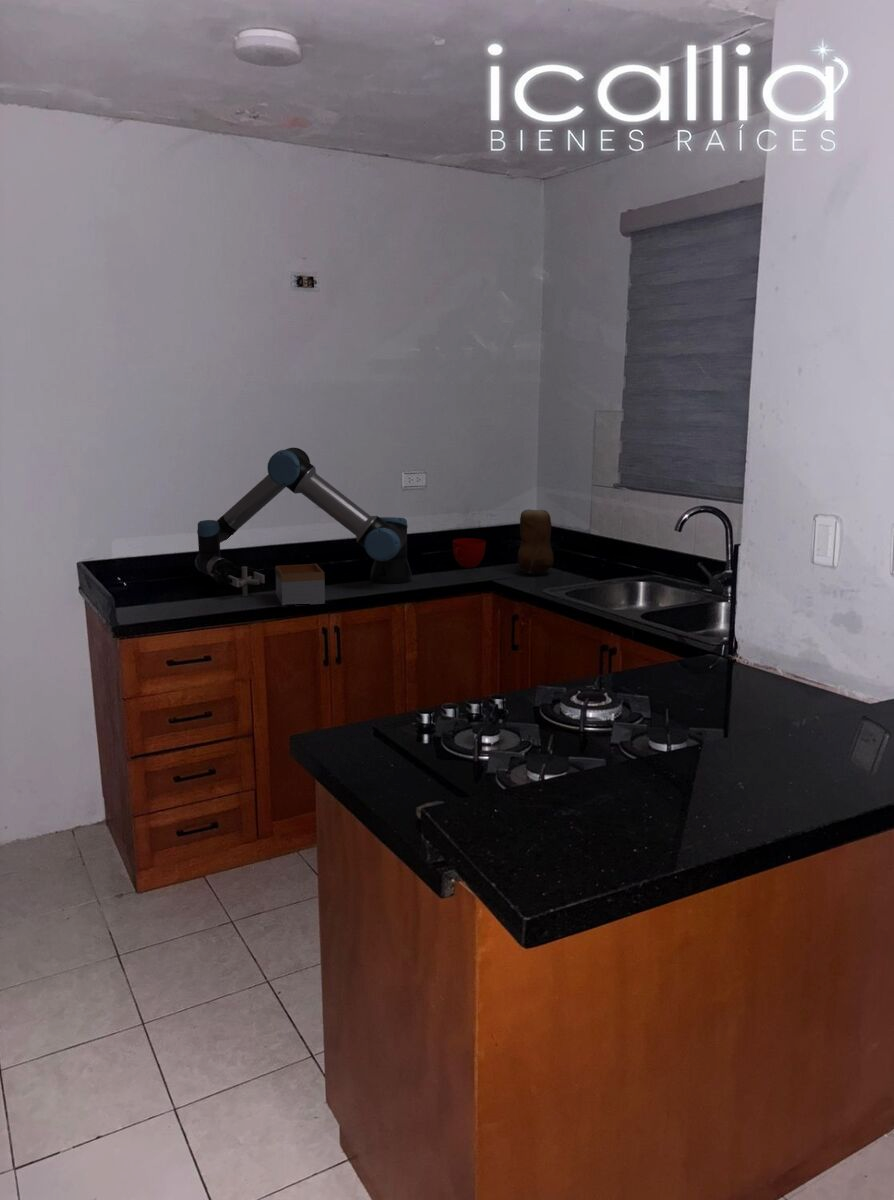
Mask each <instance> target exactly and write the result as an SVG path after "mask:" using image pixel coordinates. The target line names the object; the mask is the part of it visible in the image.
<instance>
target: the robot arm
mask: <svg viewBox="0 0 894 1200" xmlns="http://www.w3.org/2000/svg"><path fill="white" fill-rule="evenodd" d="M316 470H317V469H316V467H315V466H314V465H313V464H311V460H310V457H309V455H308V454H307V453H306V452H305V450H303V449H301V448H300V447H299V448H298V447H288V448H286V449H281V450H278V451H276V452H275V453H274V454H272V455H271V456H270V458H269V460H268V463H267V473H268V474H267V475H266V476H265V477H264V478H263V479H262V480H260V481H259V482H258V483H256V485H255V486H254V487H252V488H251V490H250V491H248V492H247V493H246V494H245V495H243V496H242V498H240V499H239V500H238V501H237V502H236V503H235V504H234V505H232V507H230V508H229V509H228V510H227V511H225V513H224V514H222V516H221V517H219V518H218V519H217V520H214V519H205V520H200V521H198V522H197V529H196V531H197V532H196V534H197V544H198V546H197V547H198V554H197V555H196V557H195V559H194V565H195V568H196V569H197V570H198V571H200V573H203V574H205V575H208V576H210V579H213V580H214V581H215V582H216V583H217V584H222V583H223V584H224V586H228V585H232V586H233V587H236V588H240V587H239V579H238V578H242V567H239V566H238V567H237V565H235V563H233V562H232V561H231V560H229V559H227V558H224V557H221V543H223V542H225V541H227V539H228V538H229V537H230V536H231V535H234V534H235V533H236V532H237V531H238V530H239V529H240V528H241V527H243V526H244V525H245V524H246V523H247V522H248V521H249V520H250V519H252V518H253V517H254V516H255V515H257V513H259V512H260V510H262V509H264V507H265V506H267V505H268V504H269V502H272V500H273V499H274V498H276V496H278V495H279V494H280V493H281V492H282V491H283V490H284V489H286V488H287V489H288V490H289V491H291V492H292V493H294V494H301V495H303V496H304V497H306V498H307V499H308V500H309V501H311V502H312V503H313V504H315V505H316V506H317V507H318V508H320V509H321V510H323V512H325V513H326V514H327V515H328V516H330V517H331V518H333V519H334V520H336V521H337V522H338V523H339V524H340V525H342V526H343V527H344V528H345V529H347V530H348V531H349V532H351V533H352V534H353V535H355V537H356V543H358V544H359V545H360V546H361V547H363V548H364V549H365V551H366V554H367V555H368V556H369V558H372V560H373V561H374V562H373V564H372V568H371V571H370V574H369V575H370V576H369V577H370V581H372V582H374V583H379V584H390V585H391V584H404V583H408V582H411V581H412V571H411V567H410V564H409V561H408V527H409V526H408V521H407V519H406V518H405V517H391V516H390V517H389V516H385V517H384V516H378V515H370V514H369V513H367V511H365V510H364V509H362V508H361V507H360V506H358V505H357V504H356V503H355V502H353V501H352V500H351V499H349V498H348V497H347V496H346V495H344V494H343V493H341V491H339V490H338V489H337V488H335V487H333V485H332V484H330V483H329V482H328V481H326V480H325V479H324V478H323V477H321V476H320V475H319V474H317V472H316ZM229 539H230V538H229ZM229 539H228V540H229ZM246 567H247V577H249V576H252V577H253V579H257V580H260V583H261V584H265V583H266V581H265V579H266V577H265V576H266V575H265V574H263V571H262V569H256V568H251V567H249V566H246Z"/></svg>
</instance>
